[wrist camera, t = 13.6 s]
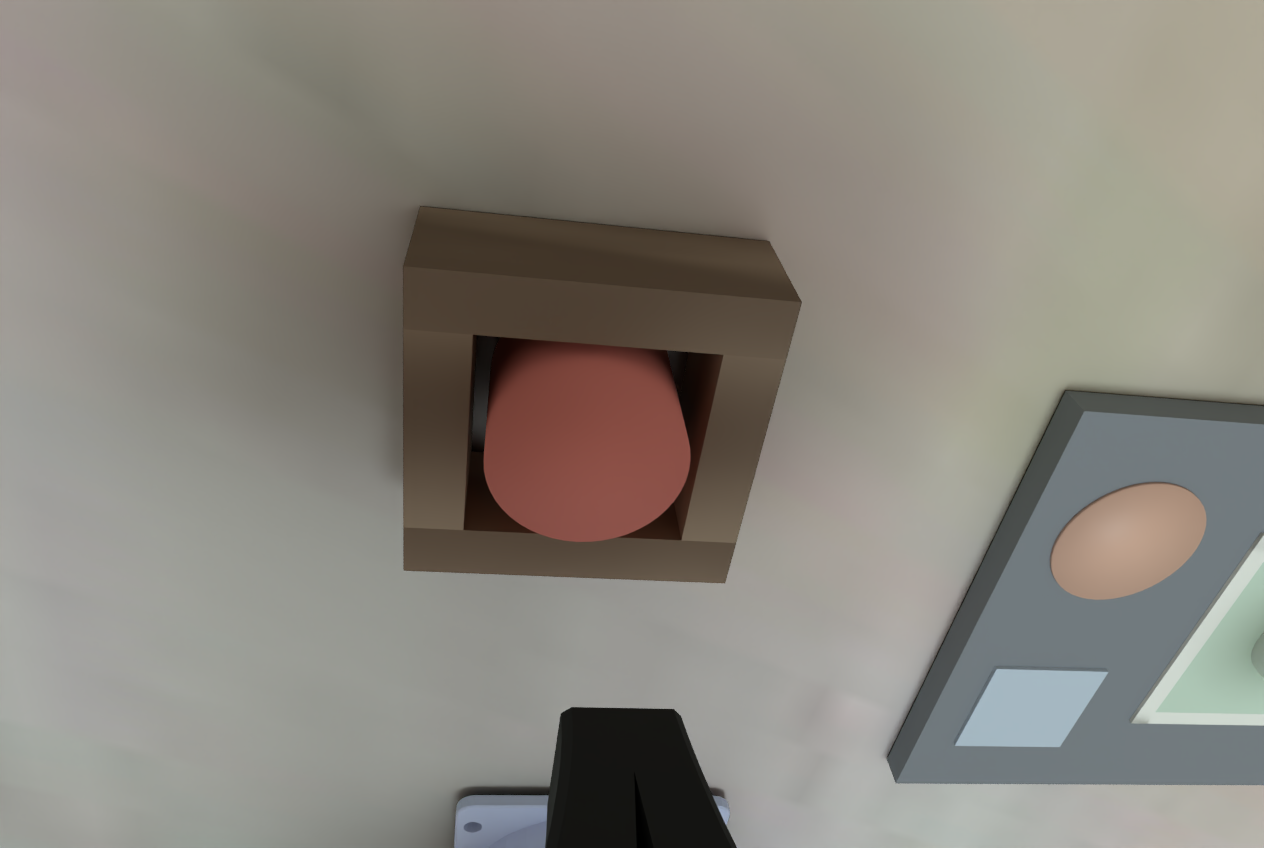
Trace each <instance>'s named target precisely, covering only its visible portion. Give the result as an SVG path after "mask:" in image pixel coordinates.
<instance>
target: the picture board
mask: <svg viewBox="0 0 1264 848" xmlns="http://www.w3.org/2000/svg"><path fill="white" fill-rule="evenodd" d="M1263 633H1264V406H1256V405H1243V404H1230V403H1218V402H1205V401H1192V400H1179V399H1167V398H1154V397H1141V396H1128V395H1115V394H1103V393H1090V392H1077V391H1065V393H1064V395H1063V397H1062V399H1061V401H1060V404H1059V406H1058V408H1057V410H1056V412H1055V414H1054V416H1053V418H1052V420H1051V422H1050V424H1049V426H1048V428H1047V430H1046V432H1045V434H1044V436H1043V439H1042V441H1041V443H1040V445H1039V447H1038V449H1037V451H1036V453H1035V455H1034V457H1033V459H1032V461H1031V463H1030V465H1029V467H1028V469H1027V472H1026V474H1025V476H1024V478H1023V480H1022V482H1021V484H1020V486H1019V488H1018V490H1017V492H1016V494H1015V496H1014V498H1013V500H1012V502H1011V505H1010V507H1009V509H1008V511H1007V513H1006V515H1005V517H1004V519H1003V521H1002V523H1001V525H1000V527H999V529H998V531H997V533H996V535H995V538H994V540H993V542H992V544H991V546H990V548H989V550H988V552H987V554H986V556H985V558H984V560H983V562H982V564H981V566H980V568H979V570H978V573H977V575H976V577H975V579H974V581H973V583H972V585H971V587H970V589H969V591H968V593H967V595H966V597H965V599H964V601H963V603H962V606H961V608H960V610H959V612H958V614H957V616H956V618H955V620H954V622H953V624H952V626H951V628H950V630H949V632H948V634H947V636H946V639H945V641H944V643H943V645H942V647H941V649H940V651H939V653H938V655H937V657H936V659H935V661H934V663H933V665H932V667H931V669H930V672H929V674H928V676H927V678H926V680H925V682H924V684H923V686H922V688H921V690H920V692H919V694H918V696H917V698H916V700H915V702H914V704H913V707H912V709H911V711H910V713H909V715H908V717H907V719H906V721H905V723H904V725H903V727H902V729H901V731H900V733H899V735H898V737H897V740H896V742H895V744H894V746H893V748H892V750H891V752H890V754H889V756H888V758H887V761H888V763H889V766H890V769H891V771H892V774H893V777H894V780H895V782H896V783H934V784H1135V785H1264V679H1263V678H1262V676H1261V675H1260V674H1259V672H1258V671H1257V670H1256V668H1255V667H1254V665H1253V663H1252V659H1251V654H1252V650H1253V648H1254V645H1255V643H1256V642H1257V640H1258V639H1259V637H1260V636H1261V635H1262V634H1263Z"/></svg>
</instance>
